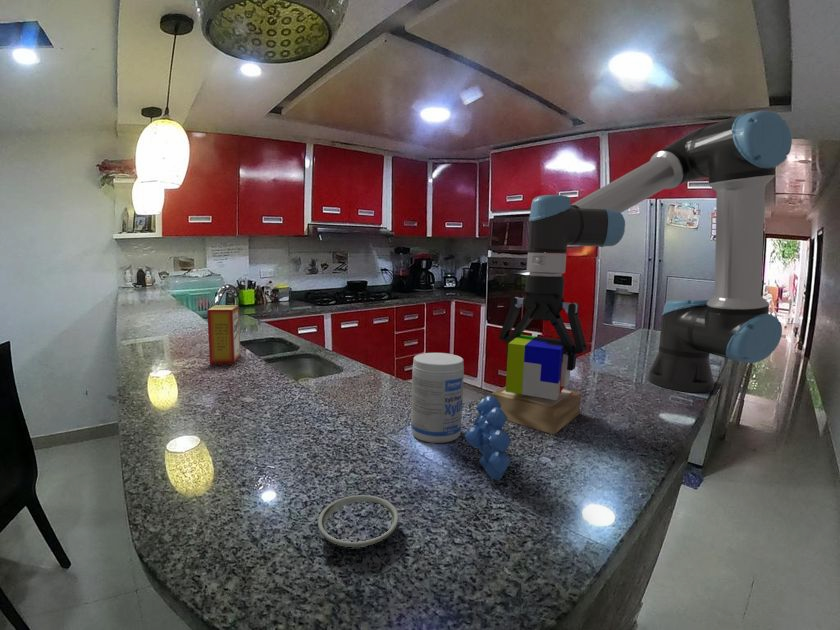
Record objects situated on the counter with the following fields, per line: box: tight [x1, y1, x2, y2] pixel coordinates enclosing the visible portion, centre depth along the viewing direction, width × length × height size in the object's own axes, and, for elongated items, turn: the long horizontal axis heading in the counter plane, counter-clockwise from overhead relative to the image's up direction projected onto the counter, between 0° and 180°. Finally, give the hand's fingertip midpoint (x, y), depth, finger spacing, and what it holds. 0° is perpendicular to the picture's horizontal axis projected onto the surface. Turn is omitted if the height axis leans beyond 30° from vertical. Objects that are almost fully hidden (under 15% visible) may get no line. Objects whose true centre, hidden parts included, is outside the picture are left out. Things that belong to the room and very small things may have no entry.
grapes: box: [464, 394, 512, 481], centre depth 67 cm, size 12×7×12 cm, turn 8°
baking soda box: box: [206, 304, 241, 365], centre depth 127 cm, size 10×6×16 cm
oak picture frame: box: [490, 385, 582, 435], centre depth 91 cm, size 14×14×5 cm
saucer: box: [317, 494, 399, 547], centre depth 52 cm, size 10×10×2 cm
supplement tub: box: [410, 352, 465, 444], centre depth 80 cm, size 10×10×15 cm
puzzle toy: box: [505, 334, 567, 400], centre depth 88 cm, size 10×10×10 cm
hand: (537, 378), depth 90 cm, fingers closed on puzzle toy, 11 cm apart
